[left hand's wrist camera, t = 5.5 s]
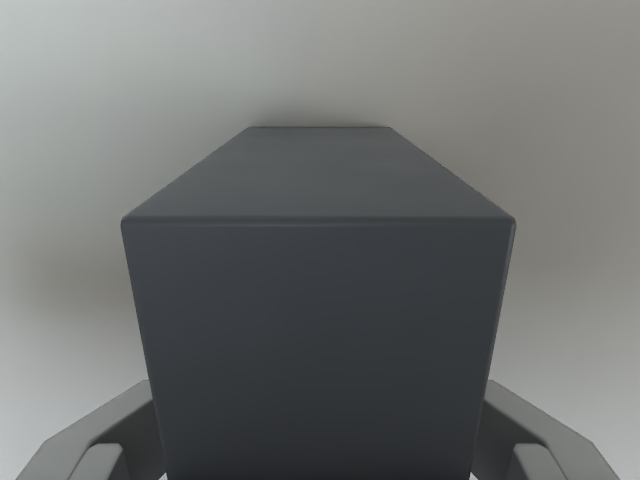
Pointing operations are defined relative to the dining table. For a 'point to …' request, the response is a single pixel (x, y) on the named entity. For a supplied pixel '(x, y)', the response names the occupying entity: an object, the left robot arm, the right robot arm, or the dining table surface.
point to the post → (318, 308)
